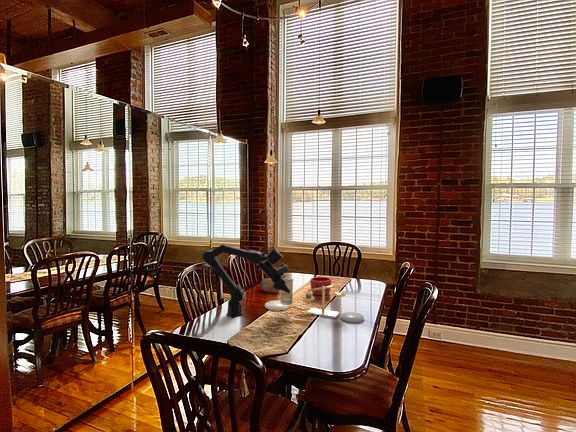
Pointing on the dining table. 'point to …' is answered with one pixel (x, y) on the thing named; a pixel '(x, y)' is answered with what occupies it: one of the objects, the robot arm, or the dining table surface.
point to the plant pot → (318, 283)
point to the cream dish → (275, 306)
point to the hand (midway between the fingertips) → (289, 290)
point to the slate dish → (352, 317)
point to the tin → (268, 285)
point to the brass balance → (323, 302)
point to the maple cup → (287, 297)
